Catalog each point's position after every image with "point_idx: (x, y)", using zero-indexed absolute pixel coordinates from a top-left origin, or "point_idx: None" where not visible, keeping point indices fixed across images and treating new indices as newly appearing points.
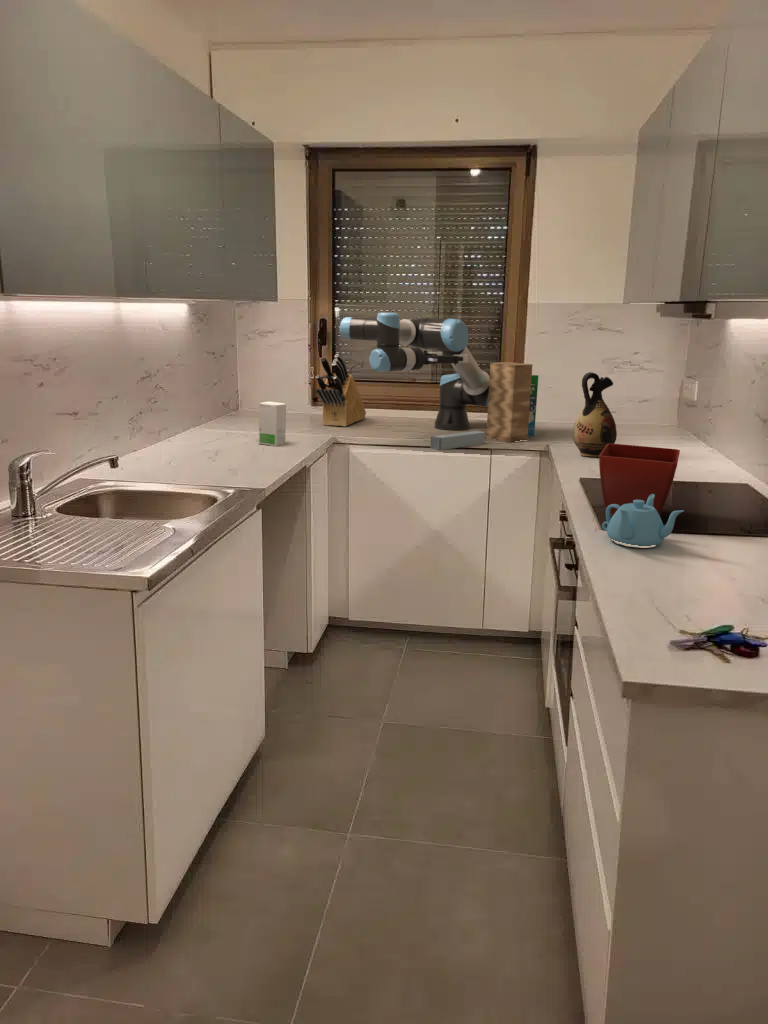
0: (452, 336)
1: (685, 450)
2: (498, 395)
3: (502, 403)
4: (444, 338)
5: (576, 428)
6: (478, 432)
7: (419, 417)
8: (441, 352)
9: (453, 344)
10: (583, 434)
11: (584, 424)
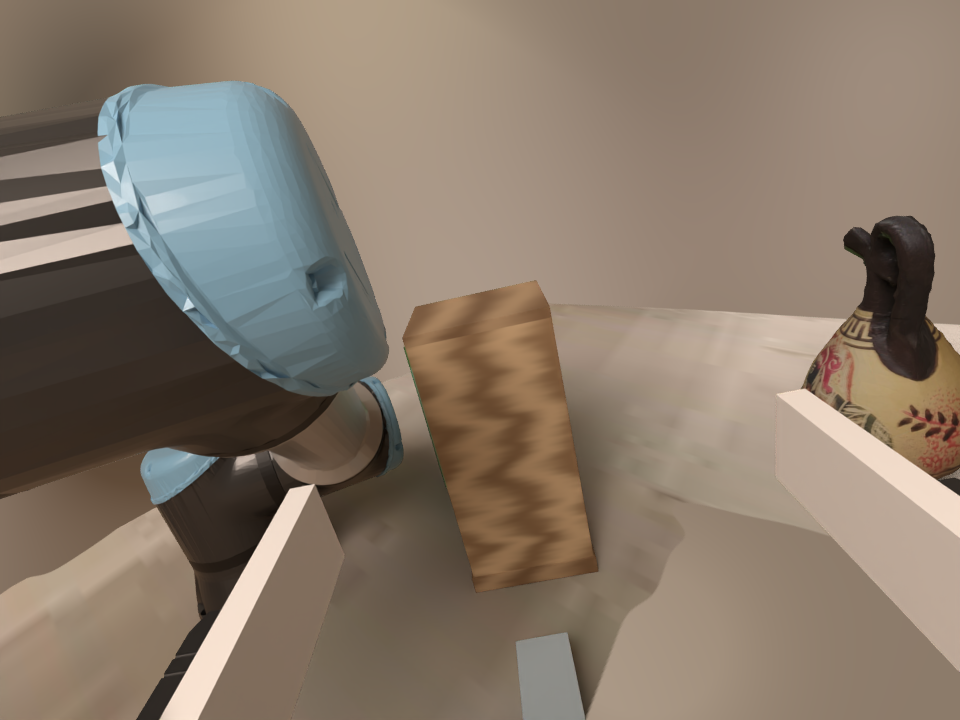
0: (331, 258)
1: (795, 336)
2: (491, 445)
3: (521, 465)
4: (240, 316)
5: (906, 433)
6: (556, 657)
7: (93, 582)
8: (312, 498)
9: (363, 338)
10: (954, 444)
11: (946, 409)
